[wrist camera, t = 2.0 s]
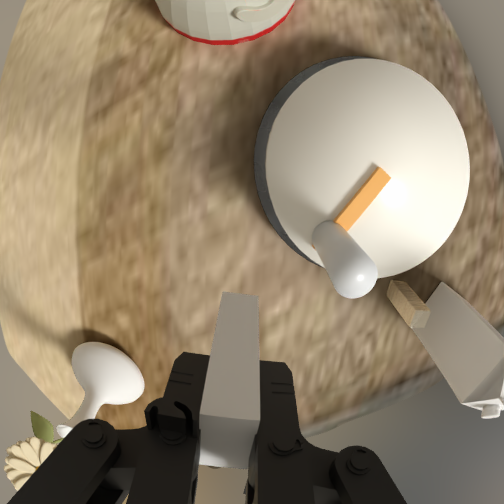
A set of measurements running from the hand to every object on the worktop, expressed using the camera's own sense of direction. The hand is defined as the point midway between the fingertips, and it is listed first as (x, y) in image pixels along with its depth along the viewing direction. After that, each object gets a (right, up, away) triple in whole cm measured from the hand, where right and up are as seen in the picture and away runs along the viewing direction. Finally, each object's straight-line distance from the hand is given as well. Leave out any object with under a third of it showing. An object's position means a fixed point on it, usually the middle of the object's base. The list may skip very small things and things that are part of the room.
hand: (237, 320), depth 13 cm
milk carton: (+26, -5, +22) cm, 34 cm away
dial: (+12, +11, +14) cm, 21 cm away
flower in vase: (-20, -13, +26) cm, 35 cm away
